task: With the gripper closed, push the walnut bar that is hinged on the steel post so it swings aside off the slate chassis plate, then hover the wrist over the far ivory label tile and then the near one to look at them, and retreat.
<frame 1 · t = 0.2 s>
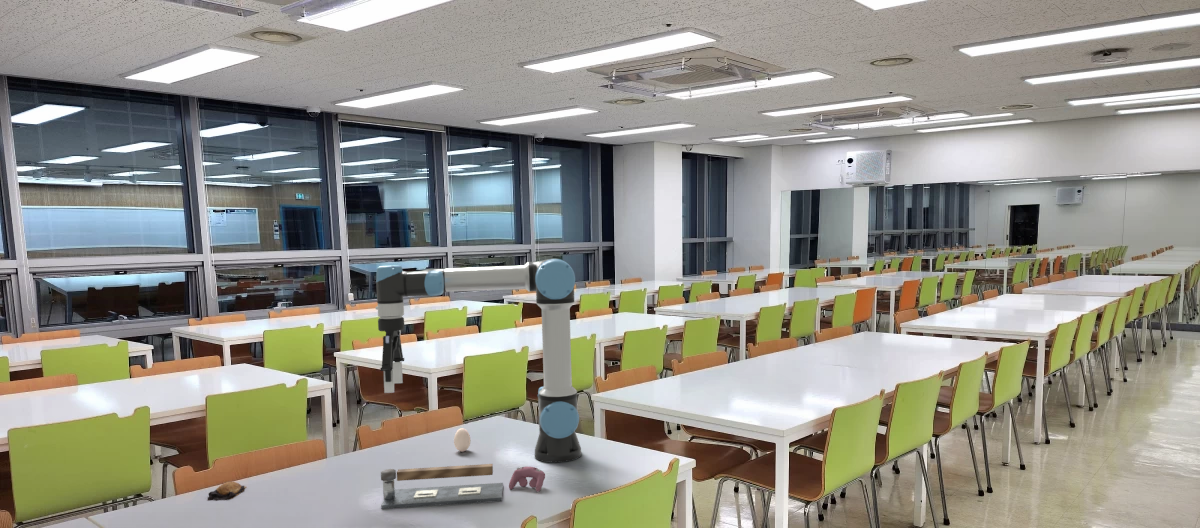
hand: (393, 387, 218), 28 cm above the table, fingers open, 13 cm apart
toy turtle: (226, 496, 211), on the table
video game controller: (527, 488, 208), on the table
swing bar: (437, 472, 202), point 7 cm above the table, hinge at 0.0°
egg: (462, 452, 246), on the table
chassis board: (444, 497, 203), on the table
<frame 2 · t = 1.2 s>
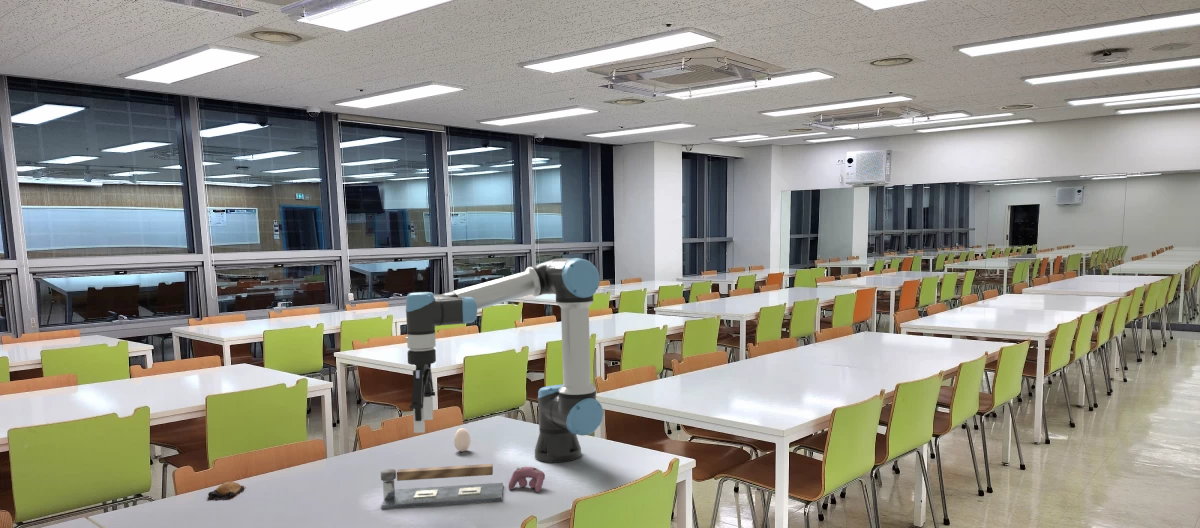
hand: (423, 425, 200), 21 cm above the table, fingers open, 13 cm apart
nothing on the table moved.
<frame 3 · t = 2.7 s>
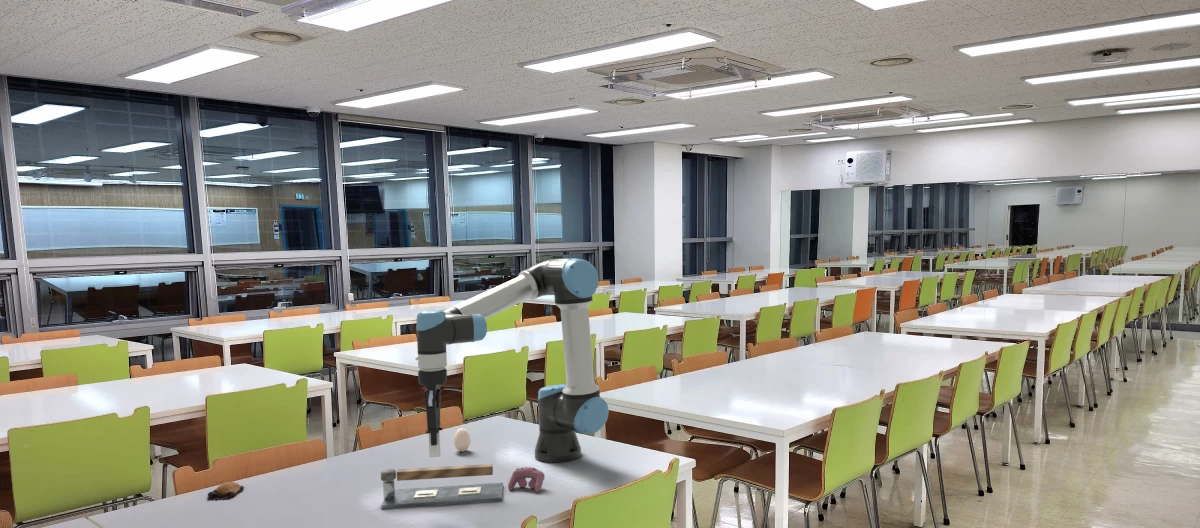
hand: (434, 456, 195), 14 cm above the table, fingers closed
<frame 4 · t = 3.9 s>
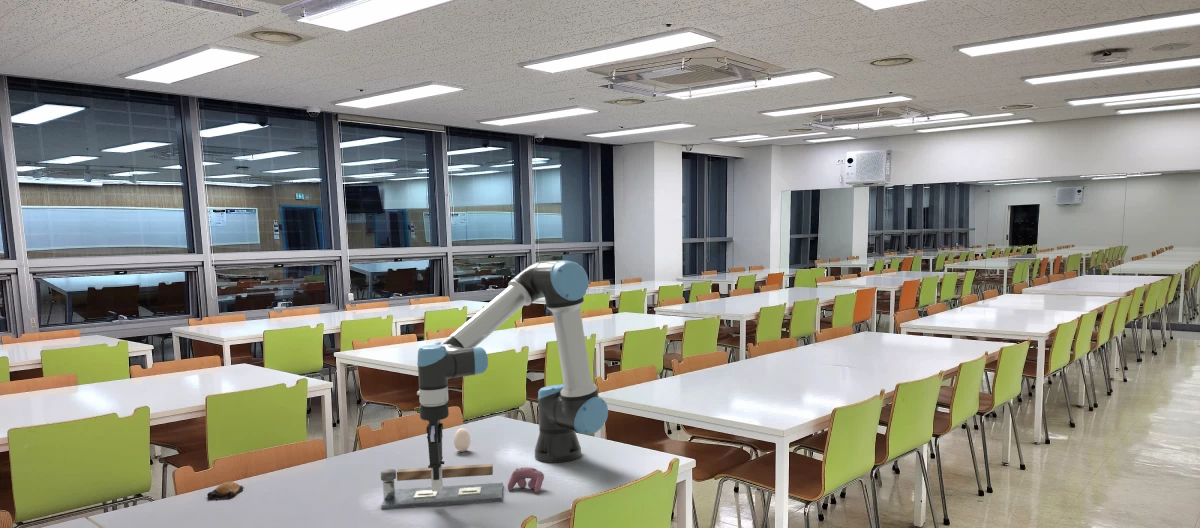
hand: (437, 490, 196), 4 cm above the table, fingers closed
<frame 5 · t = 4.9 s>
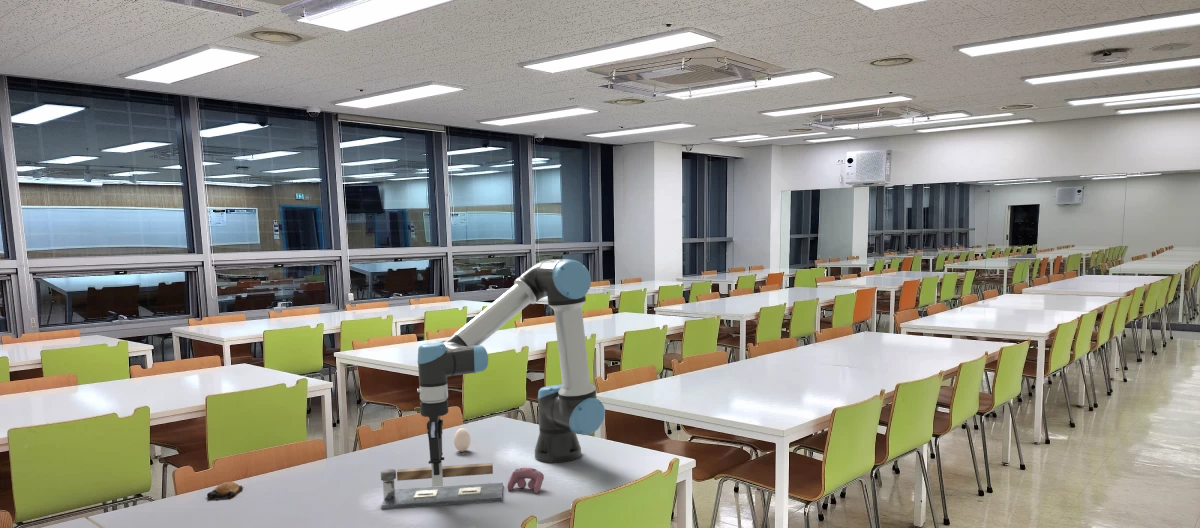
hand: (437, 485, 200), 4 cm above the table, fingers closed
swing bar: (437, 472, 203), point 7 cm above the table, hinge at 2.0°, touching gripper
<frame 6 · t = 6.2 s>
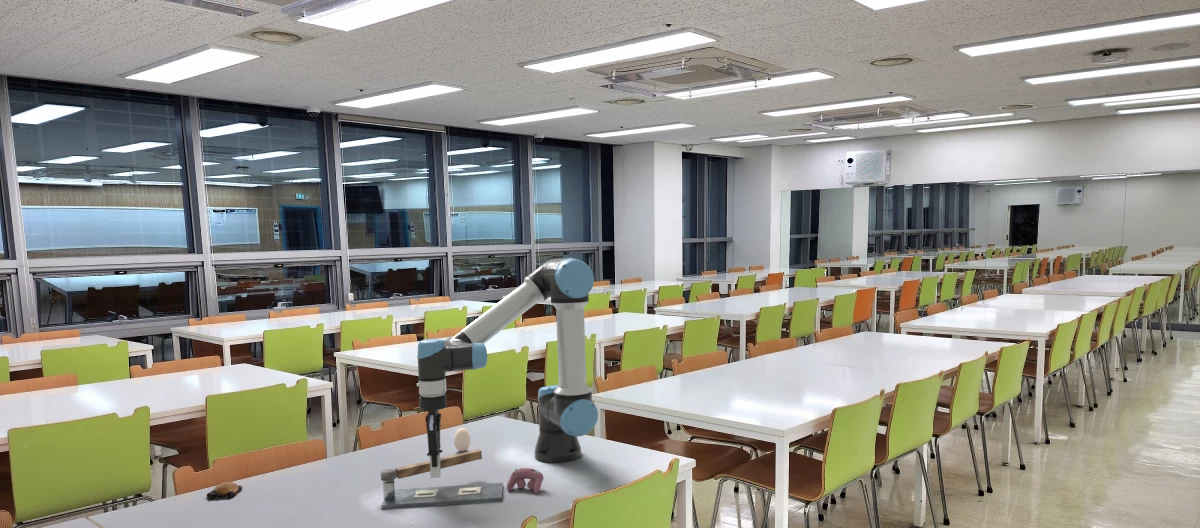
hand: (435, 477, 206), 4 cm above the table, fingers closed
swing bar: (432, 465, 209), point 7 cm above the table, hinge at 32.8°, touching gripper
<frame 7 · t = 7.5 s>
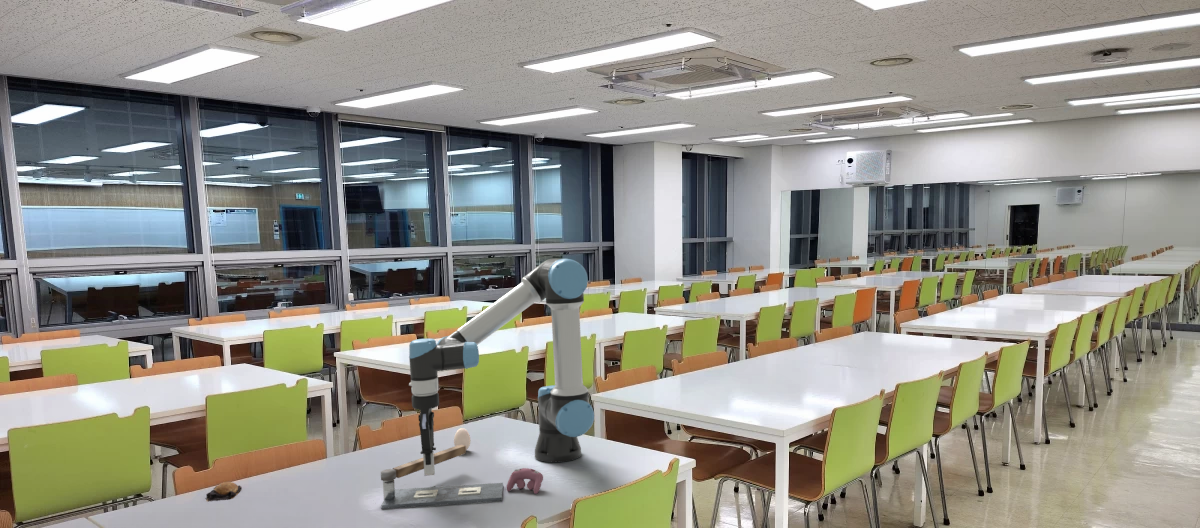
hand: (429, 474, 209), 4 cm above the table, fingers closed
swing bar: (425, 462, 212), point 7 cm above the table, hinge at 49.7°, touching gripper
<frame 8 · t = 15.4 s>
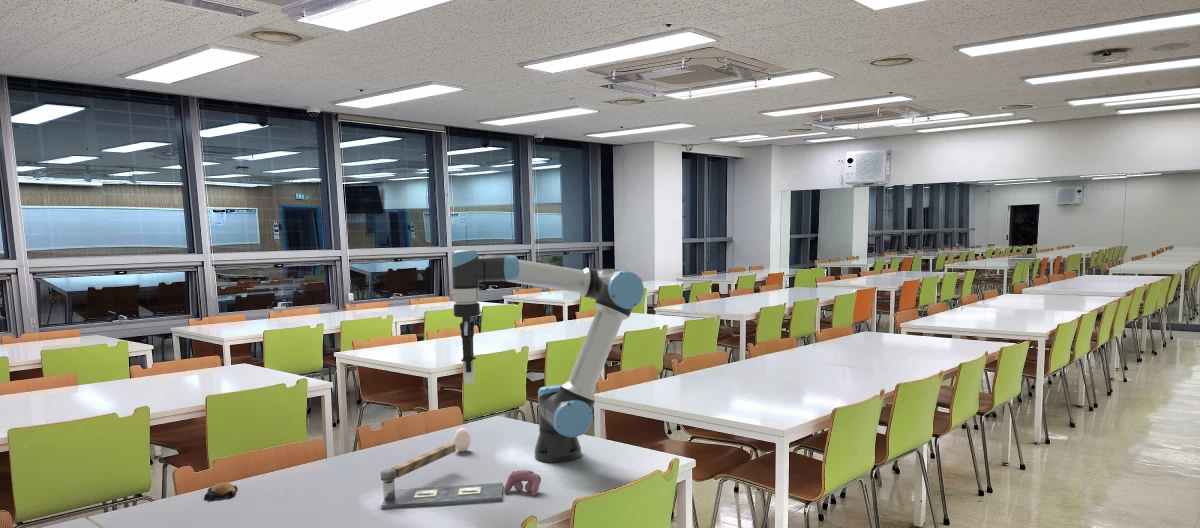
hand: (469, 382, 214), 29 cm above the table, fingers closed
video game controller: (523, 492, 205), on the table
swing bar: (420, 461, 213), point 7 cm above the table, hinge at 58.2°
at the end: swing bar at +58° (first picture: +0°) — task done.
